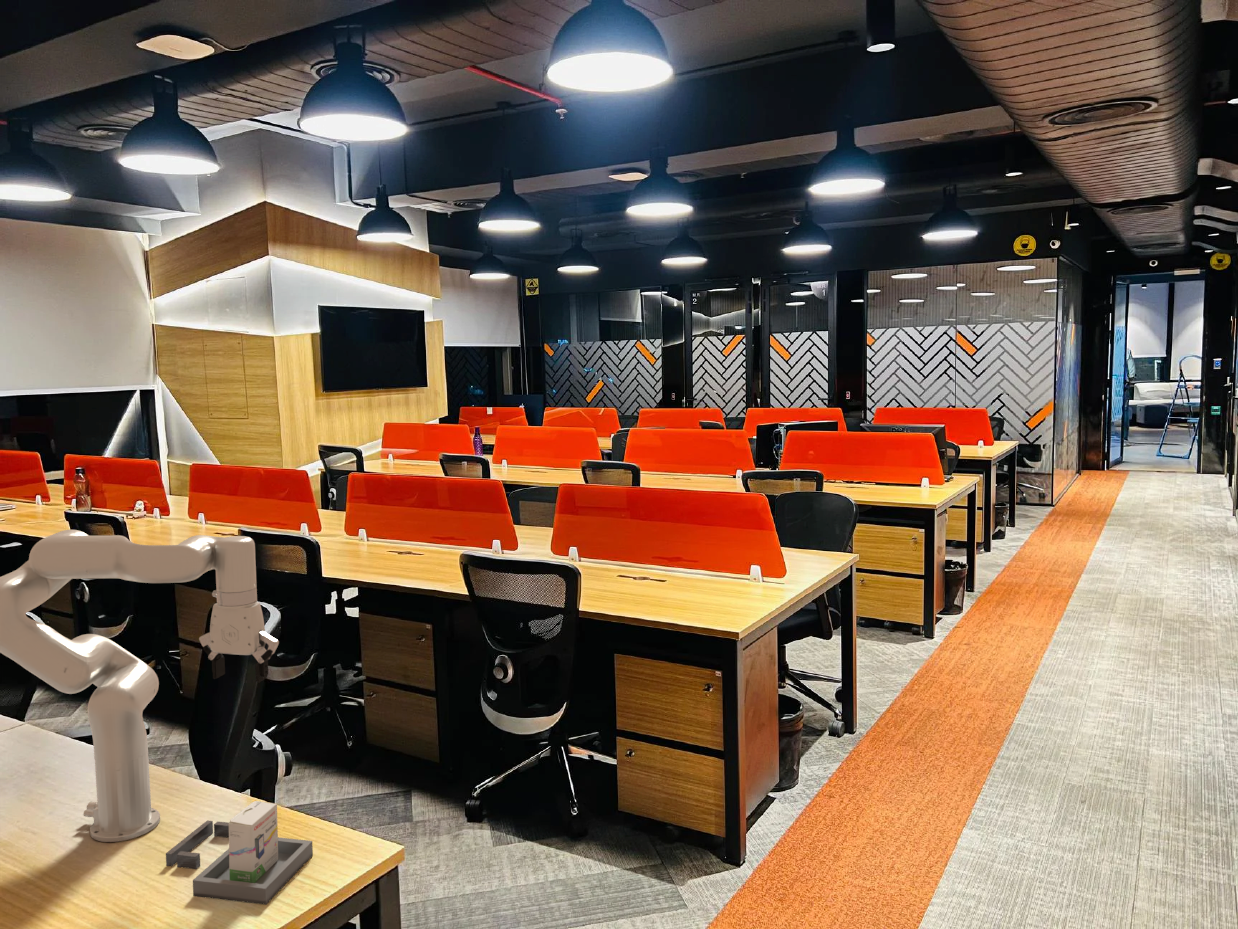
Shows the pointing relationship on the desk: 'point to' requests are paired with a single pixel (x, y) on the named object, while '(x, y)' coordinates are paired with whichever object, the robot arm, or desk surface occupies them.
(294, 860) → the tray
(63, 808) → the desk surface
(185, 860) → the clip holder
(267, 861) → the ink box
